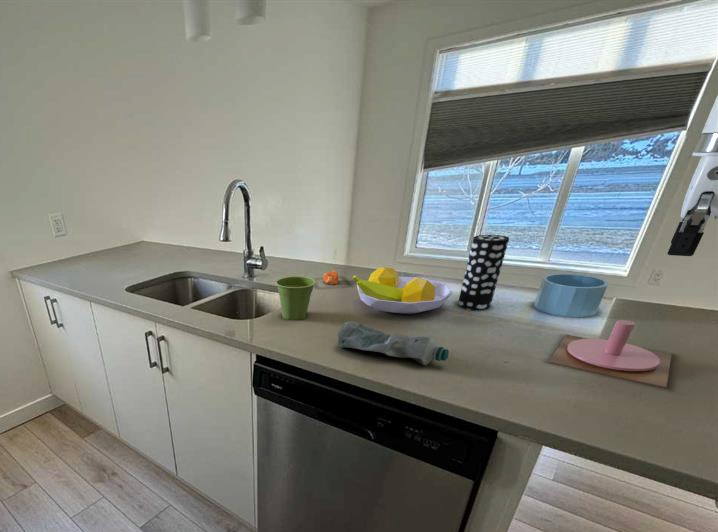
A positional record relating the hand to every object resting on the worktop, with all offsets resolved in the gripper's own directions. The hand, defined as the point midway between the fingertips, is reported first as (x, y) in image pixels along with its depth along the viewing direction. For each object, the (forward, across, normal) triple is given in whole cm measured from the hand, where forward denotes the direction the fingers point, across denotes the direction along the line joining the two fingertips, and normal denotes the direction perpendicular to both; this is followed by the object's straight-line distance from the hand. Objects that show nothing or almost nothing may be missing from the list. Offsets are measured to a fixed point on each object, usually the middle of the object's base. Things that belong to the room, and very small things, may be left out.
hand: (680, 249), depth 75 cm
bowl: (+24, +28, +16) cm, 40 cm away
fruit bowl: (+23, +7, +54) cm, 59 cm away
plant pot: (+22, -17, +75) cm, 80 cm away
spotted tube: (+23, +19, +36) cm, 46 cm away
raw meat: (+21, +18, +83) cm, 88 cm away
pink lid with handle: (+22, -1, +3) cm, 23 cm away
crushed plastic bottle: (+23, -26, +41) cm, 54 cm away
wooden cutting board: (+24, -1, +3) cm, 24 cm away
